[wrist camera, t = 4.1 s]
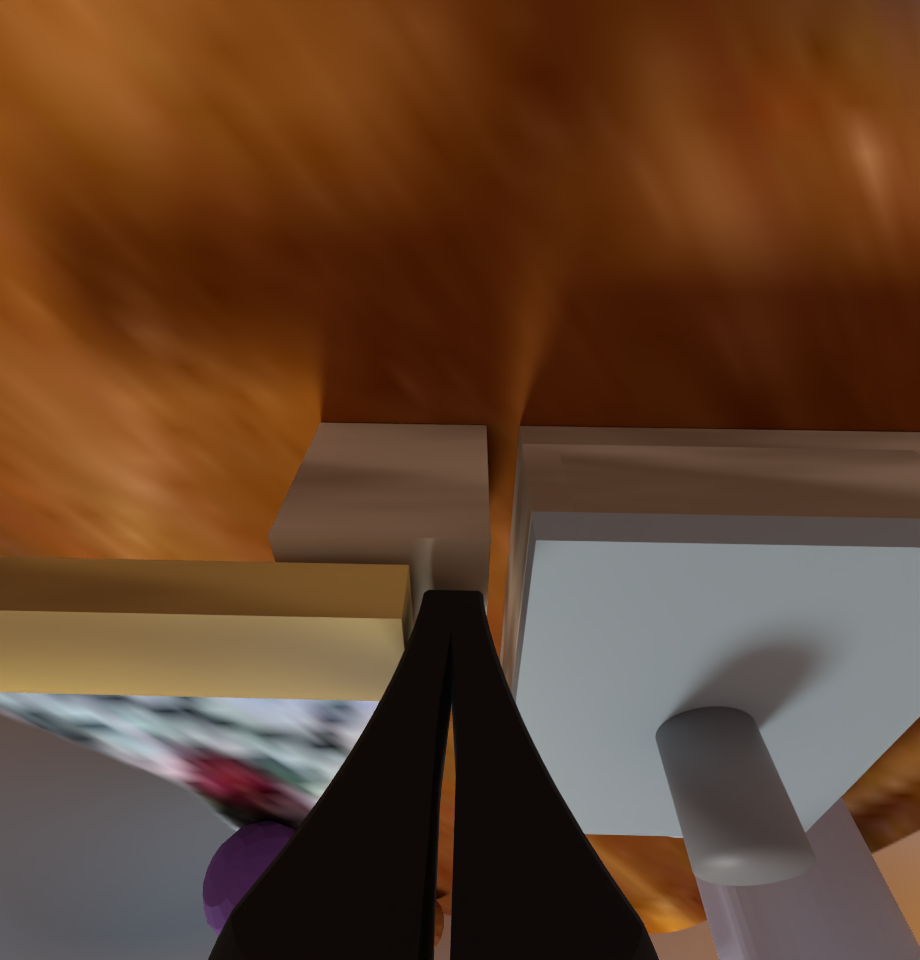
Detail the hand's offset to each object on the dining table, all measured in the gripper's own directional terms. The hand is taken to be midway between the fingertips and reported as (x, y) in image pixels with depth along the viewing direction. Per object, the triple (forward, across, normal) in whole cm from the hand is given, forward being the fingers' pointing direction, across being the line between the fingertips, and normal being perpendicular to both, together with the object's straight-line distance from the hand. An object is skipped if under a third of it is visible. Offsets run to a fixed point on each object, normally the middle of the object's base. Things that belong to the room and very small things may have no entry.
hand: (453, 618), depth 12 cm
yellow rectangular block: (0, +6, 0) cm, 6 cm away
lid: (+3, -8, +6) cm, 10 cm away
